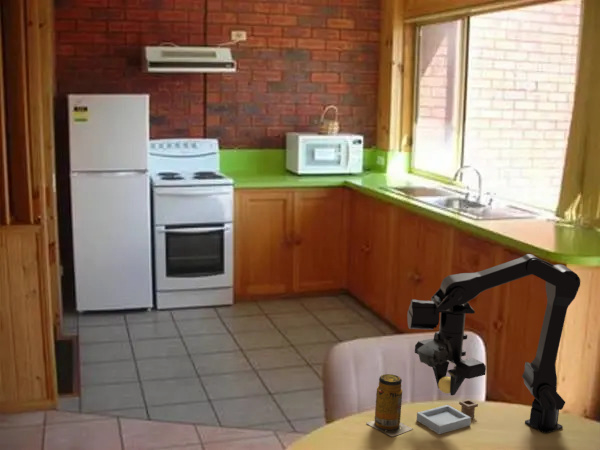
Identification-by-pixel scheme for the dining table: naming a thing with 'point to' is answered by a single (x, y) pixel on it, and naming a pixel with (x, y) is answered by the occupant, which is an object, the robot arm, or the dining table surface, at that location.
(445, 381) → the ball
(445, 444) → the dining table surface
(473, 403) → the egg cup
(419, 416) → the tray
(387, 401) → the condiment
